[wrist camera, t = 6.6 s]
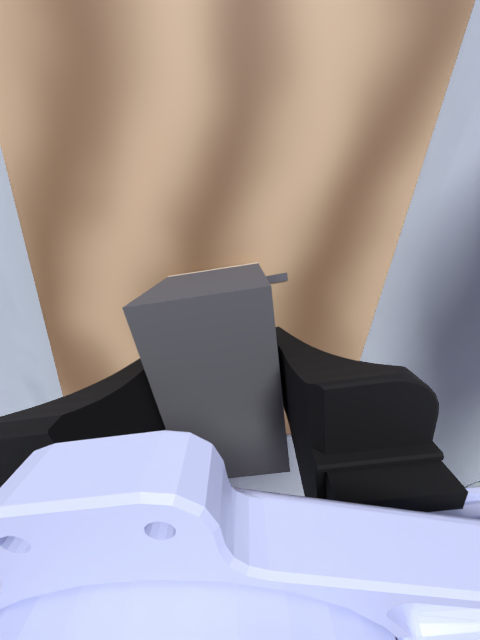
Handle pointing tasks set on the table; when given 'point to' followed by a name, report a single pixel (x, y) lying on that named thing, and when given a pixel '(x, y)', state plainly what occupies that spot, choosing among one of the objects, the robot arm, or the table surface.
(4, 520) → the robot arm
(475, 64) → the table surface
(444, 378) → the table surface
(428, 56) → the oak board
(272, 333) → the block
